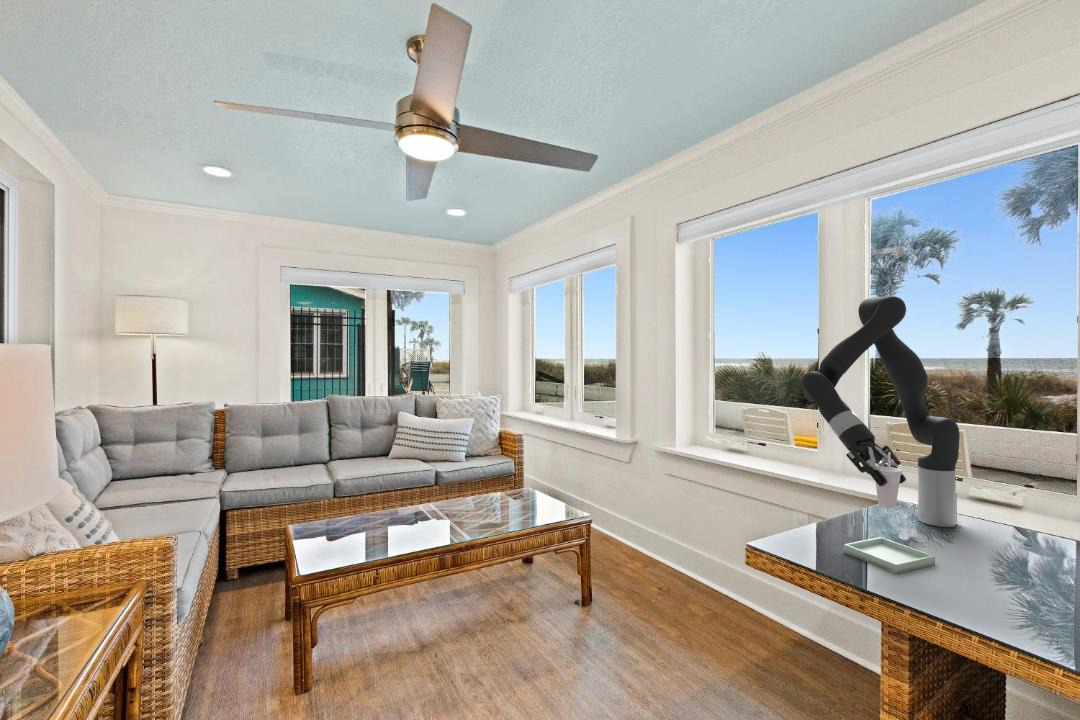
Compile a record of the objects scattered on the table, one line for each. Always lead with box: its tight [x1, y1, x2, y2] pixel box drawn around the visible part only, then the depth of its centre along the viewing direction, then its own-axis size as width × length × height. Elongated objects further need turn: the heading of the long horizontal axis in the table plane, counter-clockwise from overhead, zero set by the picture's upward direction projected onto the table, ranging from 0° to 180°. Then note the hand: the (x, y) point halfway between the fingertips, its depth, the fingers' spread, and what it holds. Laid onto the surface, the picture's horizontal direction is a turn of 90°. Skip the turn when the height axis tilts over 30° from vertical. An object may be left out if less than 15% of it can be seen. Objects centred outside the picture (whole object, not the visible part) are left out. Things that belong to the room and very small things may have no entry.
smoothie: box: [874, 452, 903, 509], centre depth 129 cm, size 6×6×14 cm
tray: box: [843, 536, 936, 575], centre depth 129 cm, size 14×14×2 cm
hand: (893, 483), depth 127 cm, fingers closed on smoothie, 6 cm apart
